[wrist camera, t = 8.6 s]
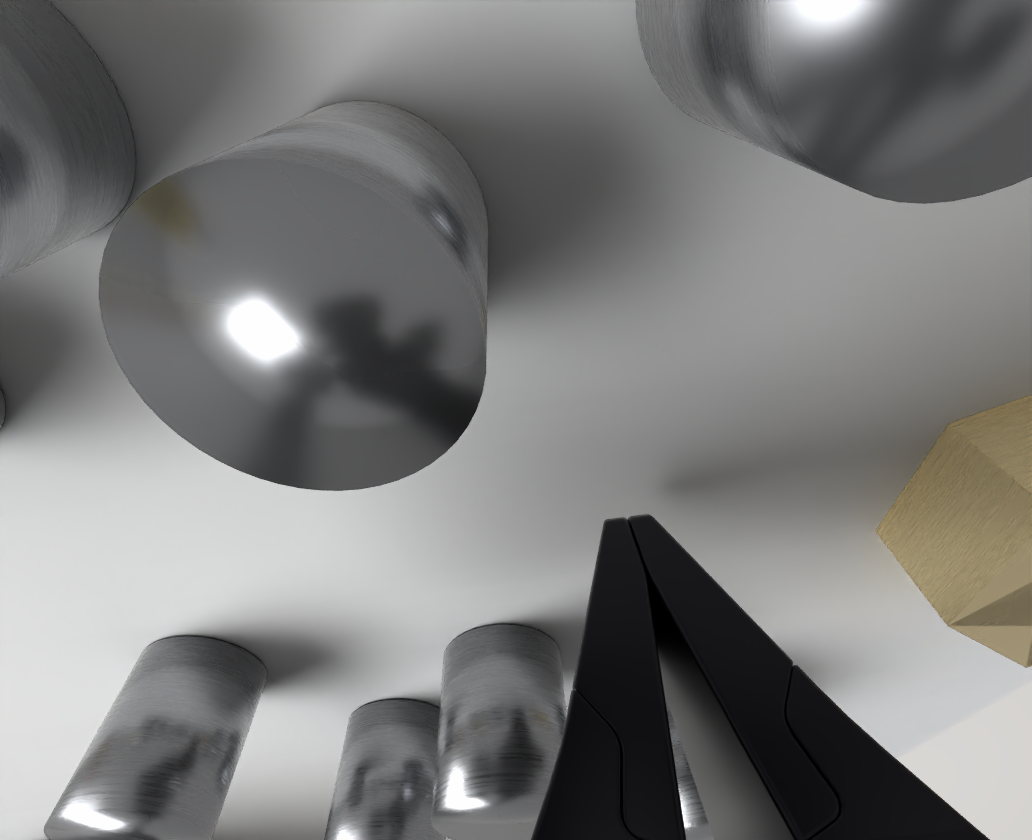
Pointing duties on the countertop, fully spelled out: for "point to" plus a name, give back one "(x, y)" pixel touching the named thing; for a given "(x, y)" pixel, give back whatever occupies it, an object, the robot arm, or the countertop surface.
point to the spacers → (417, 345)
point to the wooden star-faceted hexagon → (973, 528)
